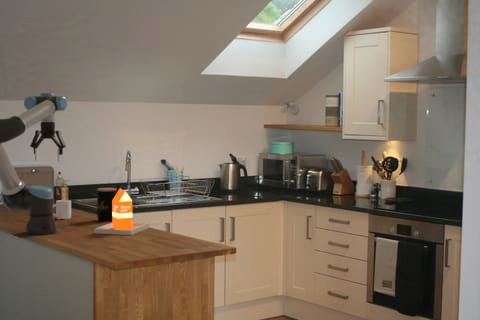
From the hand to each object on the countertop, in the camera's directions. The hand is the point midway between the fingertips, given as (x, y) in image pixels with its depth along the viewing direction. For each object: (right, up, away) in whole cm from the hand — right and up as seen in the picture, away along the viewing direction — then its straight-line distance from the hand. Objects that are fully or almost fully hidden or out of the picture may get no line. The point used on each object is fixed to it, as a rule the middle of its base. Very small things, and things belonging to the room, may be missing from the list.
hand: (48, 160), depth 377 cm
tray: (+43, -36, -17) cm, 59 cm away
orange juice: (+43, -35, -17) cm, 58 cm away
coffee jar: (+29, -34, +15) cm, 47 cm away
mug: (+2, -34, +21) cm, 39 cm away
